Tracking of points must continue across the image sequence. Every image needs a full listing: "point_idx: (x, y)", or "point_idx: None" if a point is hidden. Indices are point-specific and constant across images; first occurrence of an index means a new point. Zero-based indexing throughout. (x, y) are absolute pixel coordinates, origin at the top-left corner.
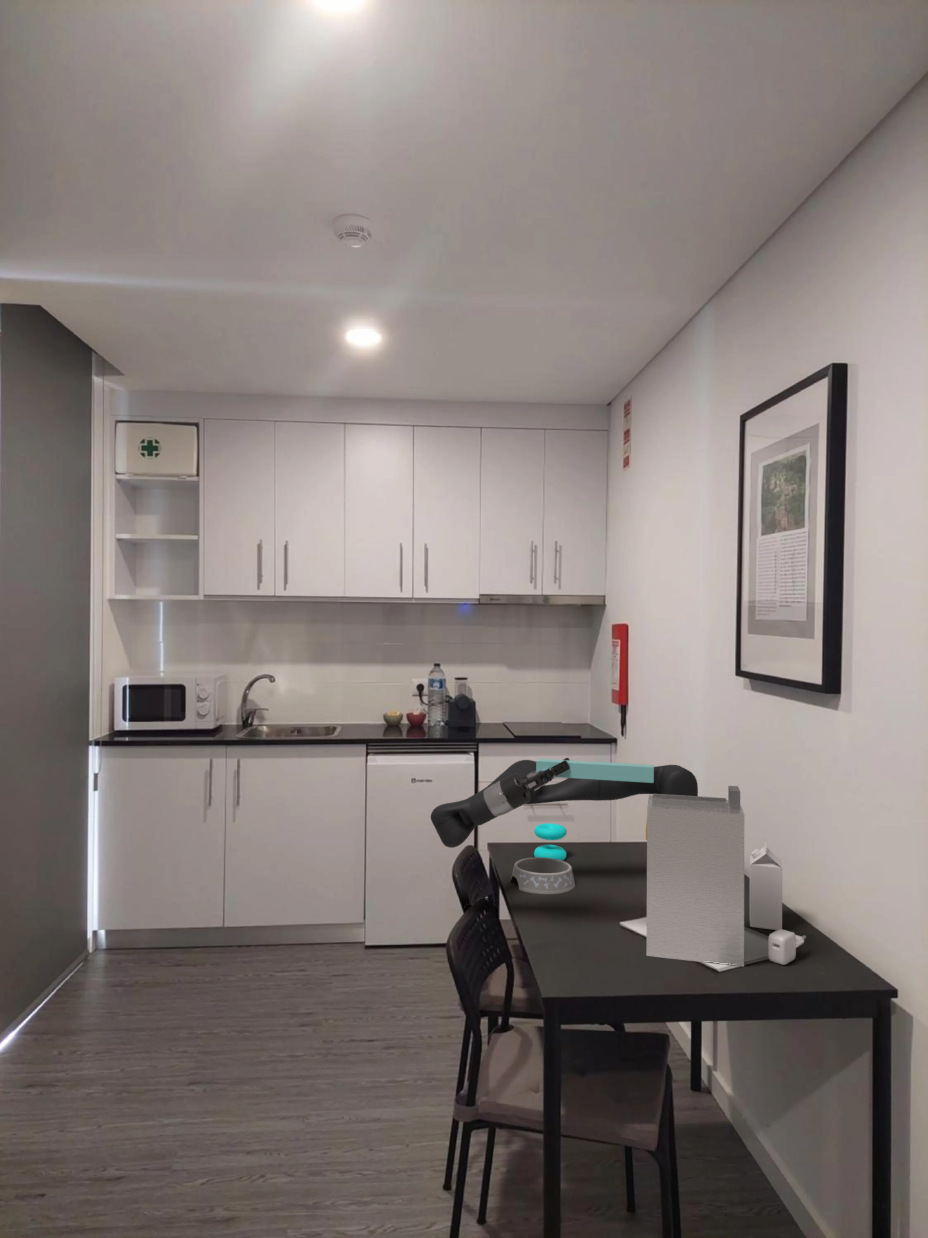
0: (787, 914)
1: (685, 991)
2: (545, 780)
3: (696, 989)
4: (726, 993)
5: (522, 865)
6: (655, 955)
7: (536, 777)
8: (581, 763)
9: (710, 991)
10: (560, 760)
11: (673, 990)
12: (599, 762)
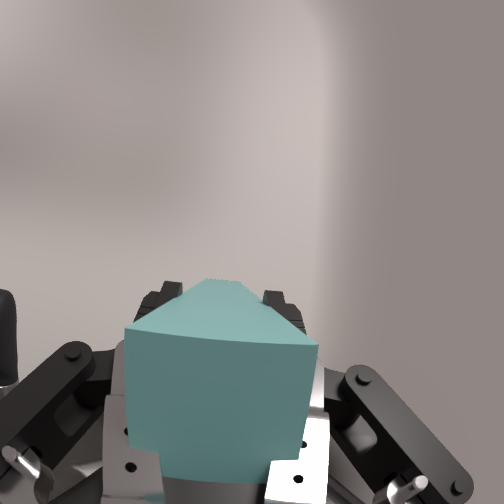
0: None
1: (346, 494)
2: (345, 440)
3: (335, 489)
4: (327, 474)
5: None
6: None
7: (426, 433)
8: (254, 294)
9: (332, 482)
10: (194, 300)
11: (351, 501)
12: (205, 285)
